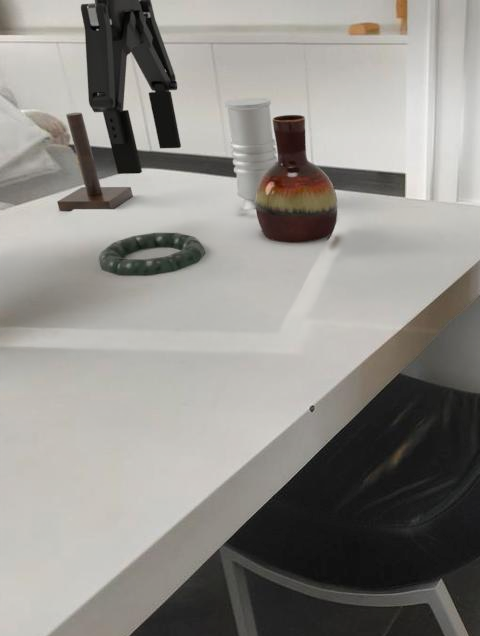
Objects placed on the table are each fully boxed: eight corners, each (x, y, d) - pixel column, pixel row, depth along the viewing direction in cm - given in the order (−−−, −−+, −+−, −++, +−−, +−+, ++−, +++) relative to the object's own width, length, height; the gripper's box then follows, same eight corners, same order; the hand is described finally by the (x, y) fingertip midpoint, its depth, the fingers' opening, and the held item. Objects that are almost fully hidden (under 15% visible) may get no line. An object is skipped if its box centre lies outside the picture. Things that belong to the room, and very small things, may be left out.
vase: (266, 229, 100) (252, 111, 91) (341, 227, 100) (335, 108, 91) (254, 255, 92) (237, 127, 82) (336, 253, 91) (328, 124, 82)
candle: (287, 201, 112) (277, 97, 103) (273, 213, 107) (261, 105, 98) (248, 199, 114) (235, 97, 105) (232, 211, 108) (216, 105, 99)
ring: (85, 285, 85) (78, 263, 83) (127, 250, 95) (122, 229, 94) (186, 287, 83) (182, 264, 82) (219, 250, 94) (215, 230, 92)
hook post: (59, 210, 113) (32, 119, 104) (84, 196, 120) (60, 109, 112) (111, 210, 112) (88, 118, 103) (132, 195, 119) (113, 108, 110)
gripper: (86, -59, 63) (141, 185, 76) (178, -55, 83) (210, 138, 95) (11, -54, 64) (78, 185, 77) (120, -52, 84) (159, 139, 96)
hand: (151, 159), depth 86 cm, fingers open, 13 cm apart
